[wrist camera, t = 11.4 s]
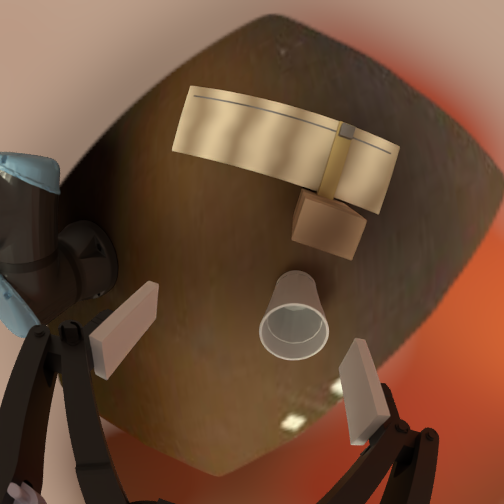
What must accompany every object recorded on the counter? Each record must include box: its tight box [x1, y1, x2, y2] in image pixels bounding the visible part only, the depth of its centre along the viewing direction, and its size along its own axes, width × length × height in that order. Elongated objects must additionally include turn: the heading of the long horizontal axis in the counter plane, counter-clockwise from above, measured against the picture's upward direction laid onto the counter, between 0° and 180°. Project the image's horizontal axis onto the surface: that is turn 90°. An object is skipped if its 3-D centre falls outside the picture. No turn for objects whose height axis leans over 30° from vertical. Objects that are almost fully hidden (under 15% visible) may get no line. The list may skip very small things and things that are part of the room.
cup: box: [259, 270, 329, 360], centre depth 35 cm, size 8×8×12 cm
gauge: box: [291, 121, 367, 261], centre depth 29 cm, size 6×14×14 cm, turn 164°
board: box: [172, 86, 400, 214], centre depth 34 cm, size 30×10×2 cm, turn 74°
